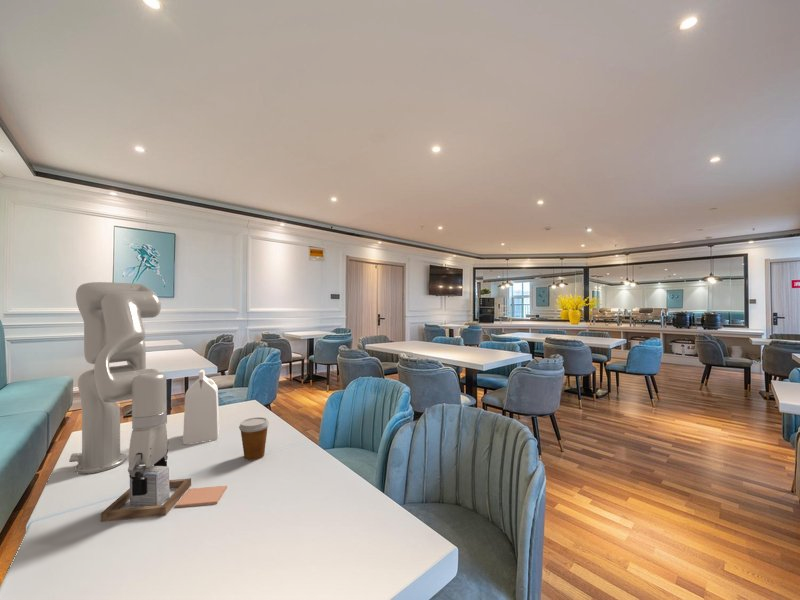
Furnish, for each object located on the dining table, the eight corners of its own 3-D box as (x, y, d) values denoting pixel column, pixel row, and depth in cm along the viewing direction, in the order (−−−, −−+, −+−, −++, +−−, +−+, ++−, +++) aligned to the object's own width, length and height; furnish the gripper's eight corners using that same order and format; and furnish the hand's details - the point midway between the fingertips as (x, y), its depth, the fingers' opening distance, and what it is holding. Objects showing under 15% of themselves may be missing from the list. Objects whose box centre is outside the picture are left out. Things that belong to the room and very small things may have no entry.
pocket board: (100, 521, 84) (100, 513, 84) (136, 489, 98) (136, 482, 98) (165, 515, 86) (165, 507, 86) (191, 485, 101) (191, 478, 101)
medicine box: (170, 498, 94) (170, 465, 94) (157, 507, 90) (157, 474, 90) (143, 496, 95) (143, 464, 95) (129, 506, 91) (128, 472, 91)
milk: (187, 434, 140) (186, 369, 140) (219, 429, 145) (219, 367, 145) (182, 445, 129) (182, 375, 129) (217, 439, 134) (217, 372, 134)
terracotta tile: (175, 507, 90) (175, 505, 90) (189, 490, 98) (189, 488, 98) (216, 503, 91) (216, 501, 91) (227, 487, 99) (227, 485, 99)
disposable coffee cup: (258, 463, 114) (258, 427, 114) (232, 461, 116) (232, 425, 116) (274, 451, 123) (274, 417, 123) (250, 449, 125) (250, 416, 125)
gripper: (152, 411, 100) (152, 471, 100) (112, 432, 83) (113, 504, 83) (180, 409, 102) (181, 468, 101) (147, 430, 85) (147, 501, 84)
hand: (150, 484), depth 92 cm, fingers open, 9 cm apart
